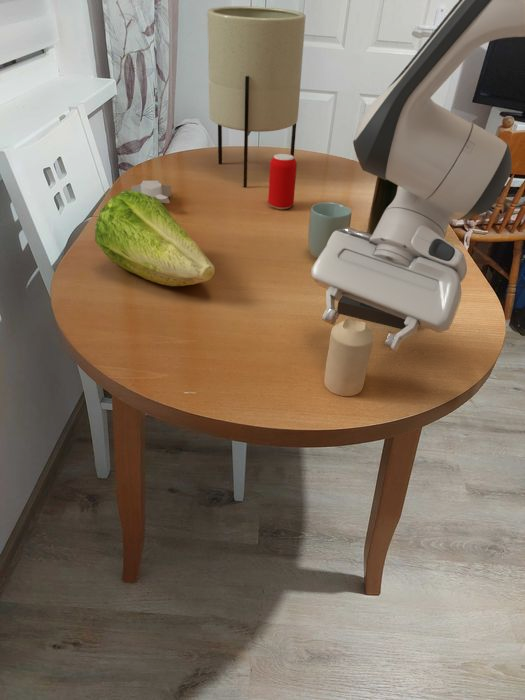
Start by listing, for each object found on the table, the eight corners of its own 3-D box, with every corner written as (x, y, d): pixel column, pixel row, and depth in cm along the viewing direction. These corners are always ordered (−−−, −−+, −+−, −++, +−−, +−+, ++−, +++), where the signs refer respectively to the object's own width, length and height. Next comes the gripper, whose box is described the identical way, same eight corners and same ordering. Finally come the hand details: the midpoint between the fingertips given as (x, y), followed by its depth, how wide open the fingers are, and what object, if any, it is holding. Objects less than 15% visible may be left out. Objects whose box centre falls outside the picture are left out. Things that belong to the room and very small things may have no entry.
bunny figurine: (169, 176, 129) (172, 189, 116) (171, 197, 131) (174, 212, 118) (130, 177, 127) (129, 190, 114) (132, 198, 130) (131, 213, 117)
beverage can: (294, 211, 125) (298, 160, 118) (268, 210, 124) (271, 159, 117) (291, 202, 130) (295, 152, 122) (267, 201, 129) (269, 152, 122)
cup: (331, 246, 109) (337, 200, 103) (351, 261, 104) (359, 213, 98) (299, 251, 106) (303, 204, 100) (318, 268, 101) (324, 219, 95)
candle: (316, 376, 73) (325, 316, 67) (350, 368, 75) (361, 309, 69) (335, 400, 69) (346, 339, 63) (370, 391, 71) (384, 331, 65)
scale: (420, 292, 95) (423, 278, 93) (407, 330, 84) (411, 315, 83) (356, 277, 98) (358, 264, 97) (336, 312, 88) (338, 298, 86)
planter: (201, 187, 138) (195, 14, 114) (220, 157, 157) (218, 3, 133) (288, 195, 137) (301, 21, 112) (296, 164, 155) (309, 9, 131)
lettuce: (241, 292, 94) (177, 329, 85) (156, 240, 106) (92, 269, 97) (242, 220, 84) (170, 254, 76) (148, 172, 96) (77, 197, 87)
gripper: (331, 213, 72) (286, 300, 71) (476, 257, 62) (425, 359, 62) (343, 233, 78) (301, 314, 77) (478, 277, 68) (431, 370, 67)
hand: (357, 335), depth 69 cm, fingers open, 8 cm apart
